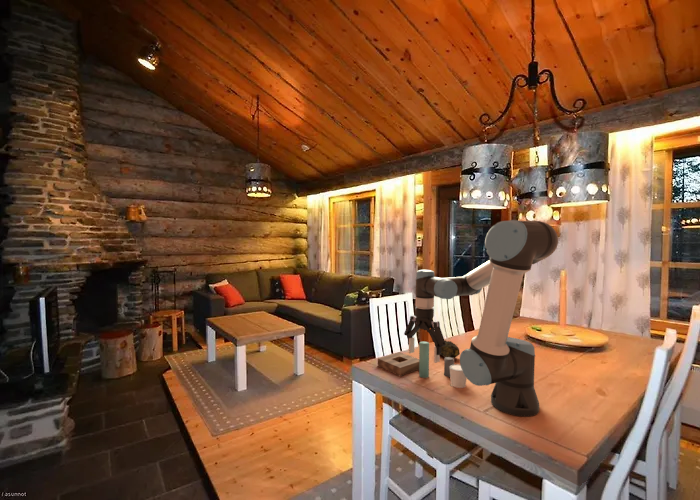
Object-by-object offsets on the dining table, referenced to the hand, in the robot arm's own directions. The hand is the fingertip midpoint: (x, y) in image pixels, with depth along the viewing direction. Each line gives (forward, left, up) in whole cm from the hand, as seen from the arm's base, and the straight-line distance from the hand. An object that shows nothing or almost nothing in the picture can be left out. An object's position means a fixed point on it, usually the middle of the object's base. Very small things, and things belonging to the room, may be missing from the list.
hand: (423, 357), depth 145 cm
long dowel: (0, 0, -8) cm, 8 cm away
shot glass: (-14, -4, -8) cm, 17 cm away
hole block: (+13, +1, -8) cm, 15 cm away
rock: (+8, -27, -8) cm, 29 cm away
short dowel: (-6, -9, -8) cm, 13 cm away
